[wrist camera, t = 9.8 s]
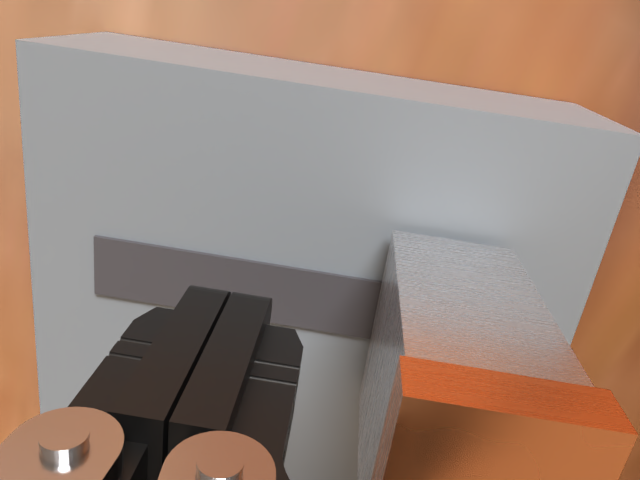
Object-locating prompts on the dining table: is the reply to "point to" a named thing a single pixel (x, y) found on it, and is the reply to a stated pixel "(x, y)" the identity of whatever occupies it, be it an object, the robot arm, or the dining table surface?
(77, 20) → the dining table surface
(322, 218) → the console
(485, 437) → the slider
